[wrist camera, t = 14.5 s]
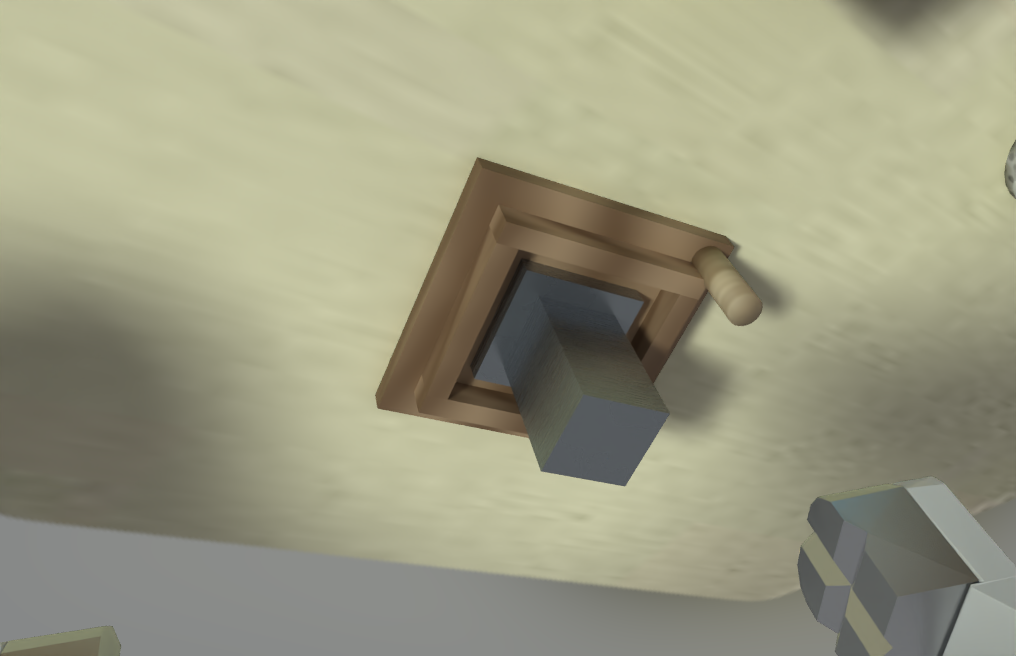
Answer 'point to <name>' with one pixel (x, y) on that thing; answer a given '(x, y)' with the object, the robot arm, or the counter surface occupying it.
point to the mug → (1011, 171)
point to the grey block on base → (573, 372)
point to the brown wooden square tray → (557, 243)
